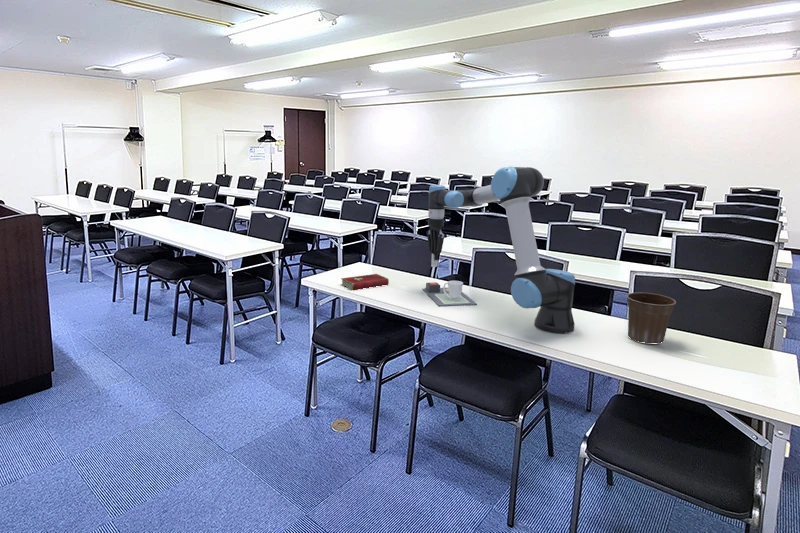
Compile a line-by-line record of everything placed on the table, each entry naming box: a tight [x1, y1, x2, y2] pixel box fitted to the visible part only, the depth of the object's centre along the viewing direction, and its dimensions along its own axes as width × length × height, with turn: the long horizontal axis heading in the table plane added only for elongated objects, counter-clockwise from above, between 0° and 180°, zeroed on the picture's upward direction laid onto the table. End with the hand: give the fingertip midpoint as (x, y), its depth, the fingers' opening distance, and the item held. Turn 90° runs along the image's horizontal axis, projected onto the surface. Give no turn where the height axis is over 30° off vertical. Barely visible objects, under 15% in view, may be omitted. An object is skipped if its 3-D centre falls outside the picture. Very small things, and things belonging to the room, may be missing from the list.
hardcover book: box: [340, 273, 390, 291], centre depth 244 cm, size 12×21×4 cm, turn 124°
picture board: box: [421, 287, 478, 308], centre depth 227 cm, size 28×18×1 cm, turn 13°
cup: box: [442, 280, 464, 301], centre depth 222 cm, size 7×10×8 cm
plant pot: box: [626, 292, 677, 344], centre depth 178 cm, size 16×16×16 cm
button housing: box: [425, 281, 441, 293], centre depth 234 cm, size 6×6×4 cm
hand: (434, 266), depth 232 cm, fingers closed
